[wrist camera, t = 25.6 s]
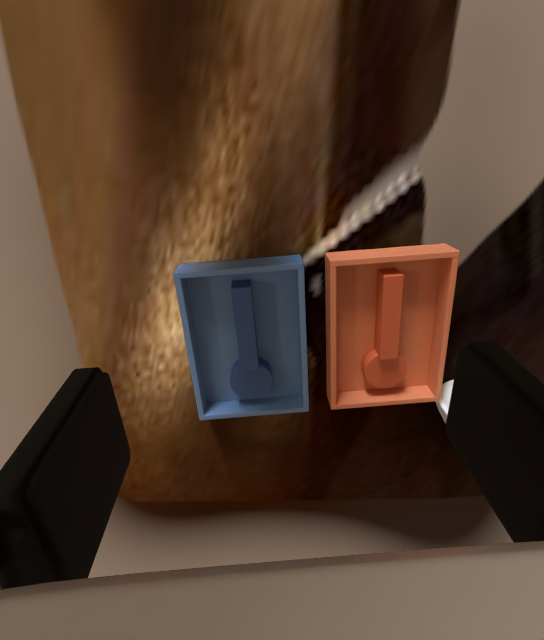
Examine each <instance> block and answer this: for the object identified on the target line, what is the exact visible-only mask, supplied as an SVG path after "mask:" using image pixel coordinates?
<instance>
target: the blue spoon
mask: <svg viewBox="0 0 544 640" xmlns="http://www.w3.org/2000/svg"><path fill="white" fill-rule="evenodd" d="M231 296H232V304H233V312H234V321H235V329H236V337H237V346H238V354H239V360H238V361H236V362H235V364H234V365H233V367H232V369H231V376H230V385H231V388H232V389H233V391H234V392H235V393H236V394H237V395H238V396H240V397H242V398H245V399H257V398H260V397H263V396H264V395H266V394H267V393H268V392H269V391H270V389H271V387H272V384H273V376H272V369H271V366H270V365H269V363H268V362H267V361H266V360H264V359H263V358H261V357H259V355H258V344H257V334H256V324H255V313H254V303H253V292H252V282H251V279H247V280H234V281H232V285H231Z"/></svg>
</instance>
